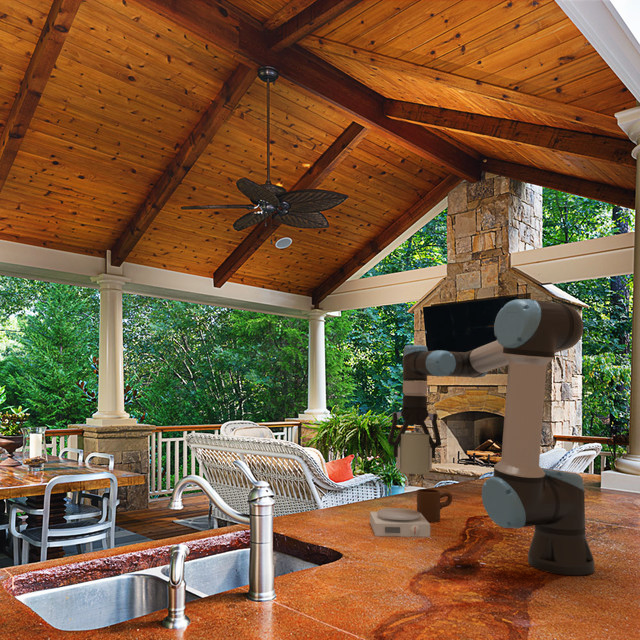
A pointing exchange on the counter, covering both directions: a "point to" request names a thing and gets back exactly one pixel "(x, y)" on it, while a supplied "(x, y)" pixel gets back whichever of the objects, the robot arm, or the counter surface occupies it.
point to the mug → (431, 503)
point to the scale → (399, 523)
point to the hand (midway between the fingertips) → (414, 468)
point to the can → (414, 453)
